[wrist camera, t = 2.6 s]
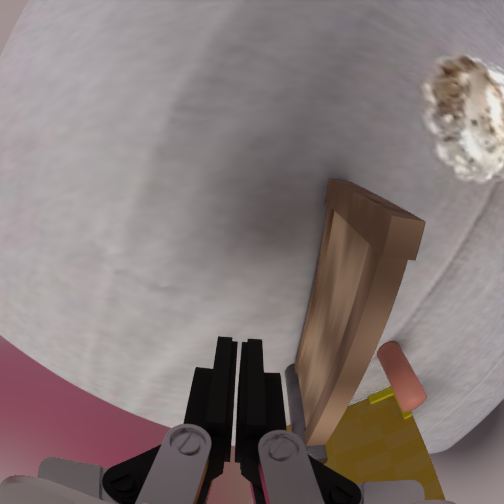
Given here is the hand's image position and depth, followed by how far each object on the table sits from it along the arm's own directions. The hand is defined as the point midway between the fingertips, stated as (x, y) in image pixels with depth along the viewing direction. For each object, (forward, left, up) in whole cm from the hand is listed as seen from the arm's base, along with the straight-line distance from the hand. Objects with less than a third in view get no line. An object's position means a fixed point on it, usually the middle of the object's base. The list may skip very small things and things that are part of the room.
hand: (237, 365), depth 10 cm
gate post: (+11, +6, -11) cm, 17 cm away
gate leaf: (+2, +6, -10) cm, 12 cm away
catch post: (+9, +15, -11) cm, 20 cm away
